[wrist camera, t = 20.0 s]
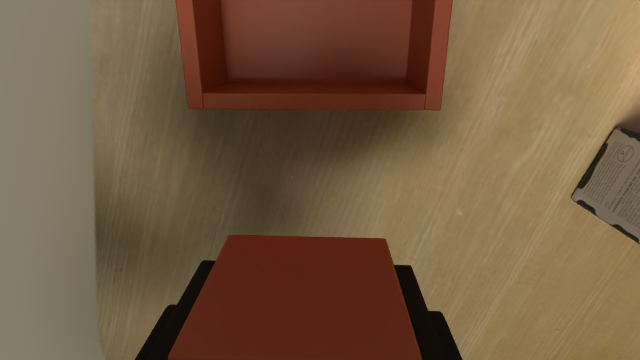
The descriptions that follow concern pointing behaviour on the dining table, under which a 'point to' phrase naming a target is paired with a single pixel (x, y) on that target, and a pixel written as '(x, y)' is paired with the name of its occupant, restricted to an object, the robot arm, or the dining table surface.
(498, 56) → the dining table surface
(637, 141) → the candy box
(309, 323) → the red block
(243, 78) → the terracotta bin
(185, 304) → the robot arm
